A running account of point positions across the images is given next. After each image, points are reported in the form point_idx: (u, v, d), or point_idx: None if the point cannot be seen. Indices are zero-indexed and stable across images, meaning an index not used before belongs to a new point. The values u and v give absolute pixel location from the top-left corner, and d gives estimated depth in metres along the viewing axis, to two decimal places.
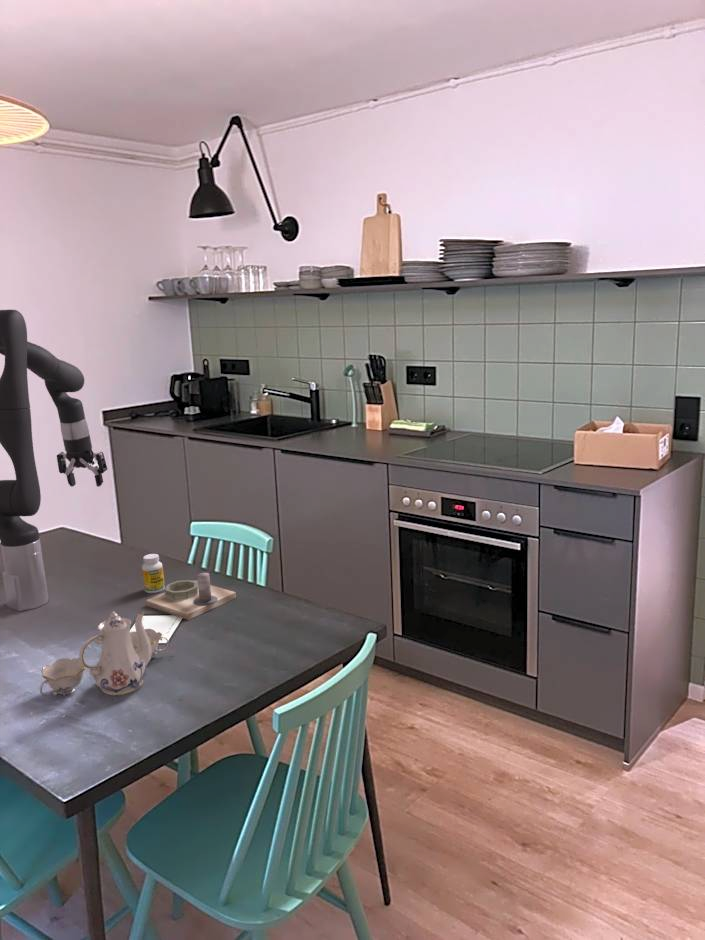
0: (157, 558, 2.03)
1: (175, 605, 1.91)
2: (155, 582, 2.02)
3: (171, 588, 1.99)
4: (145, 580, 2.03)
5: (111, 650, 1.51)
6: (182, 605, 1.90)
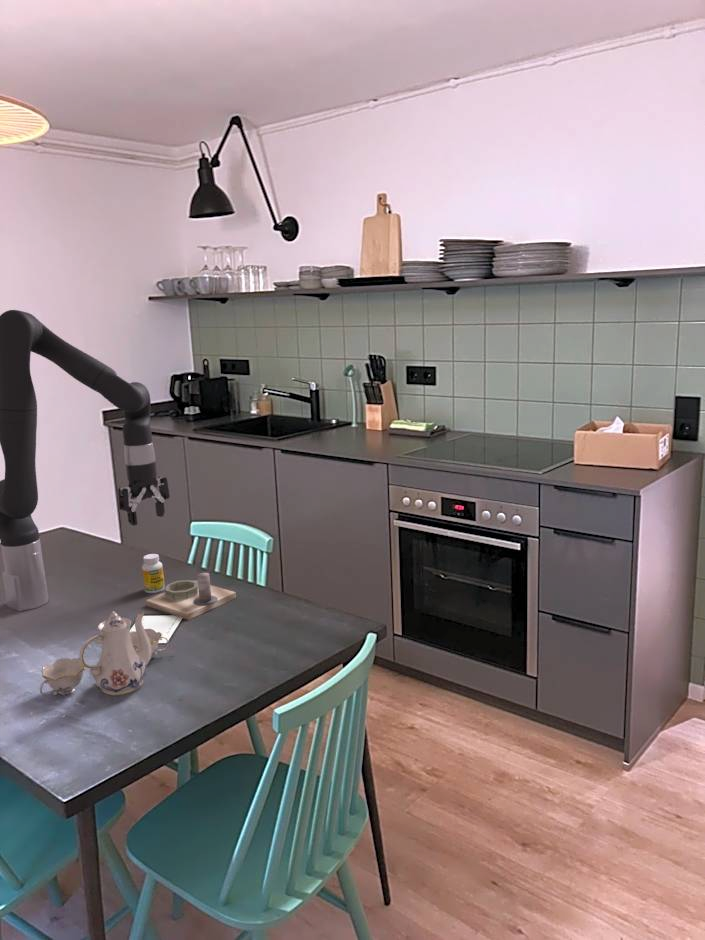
0: (157, 558, 2.03)
1: (175, 605, 1.91)
2: (155, 582, 2.02)
3: (171, 588, 1.99)
4: (145, 580, 2.03)
5: (111, 650, 1.51)
6: (182, 605, 1.90)
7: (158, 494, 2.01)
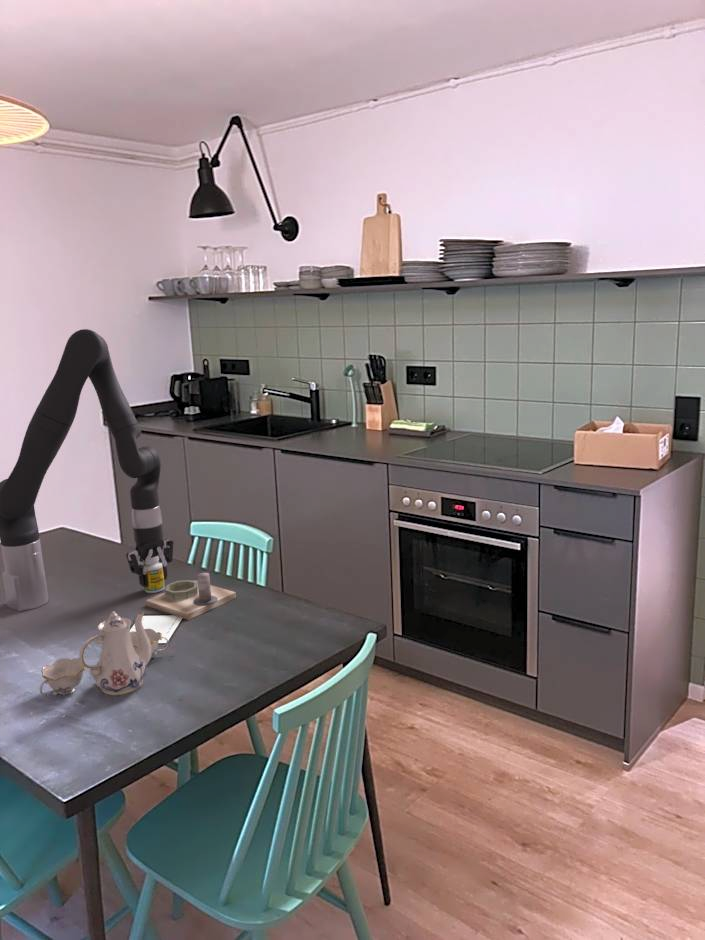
0: (157, 558, 2.03)
1: (175, 605, 1.91)
2: (155, 582, 2.02)
3: (171, 588, 1.99)
4: None
5: (111, 650, 1.51)
6: (182, 605, 1.90)
7: (163, 557, 2.04)
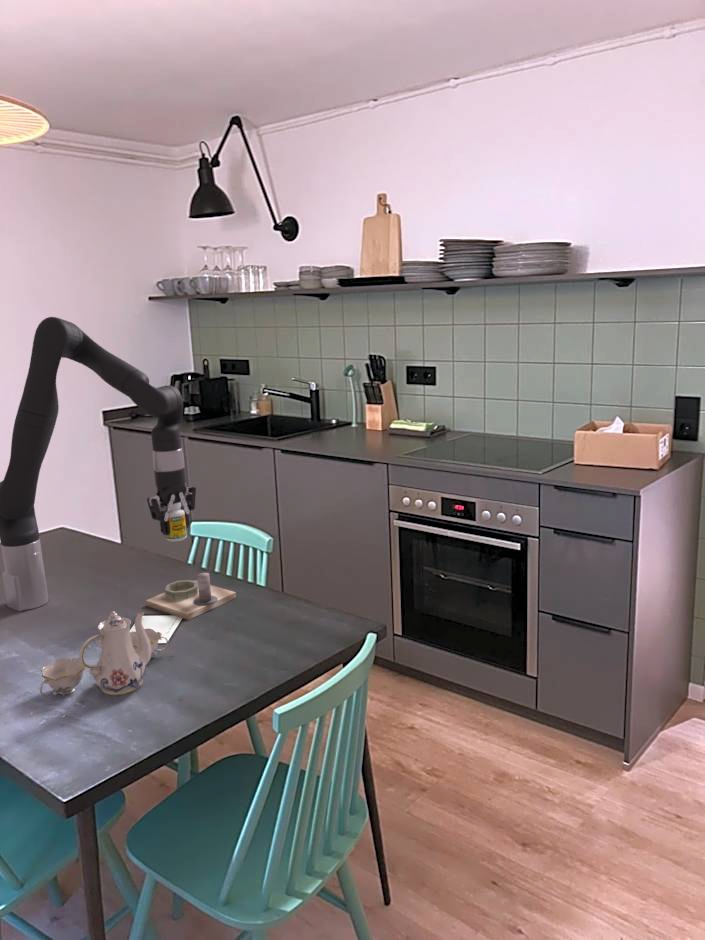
0: (179, 504, 1.92)
1: (175, 605, 1.91)
2: (177, 530, 1.92)
3: (171, 588, 1.99)
4: None
5: (111, 650, 1.51)
6: (182, 605, 1.90)
7: (185, 503, 1.94)
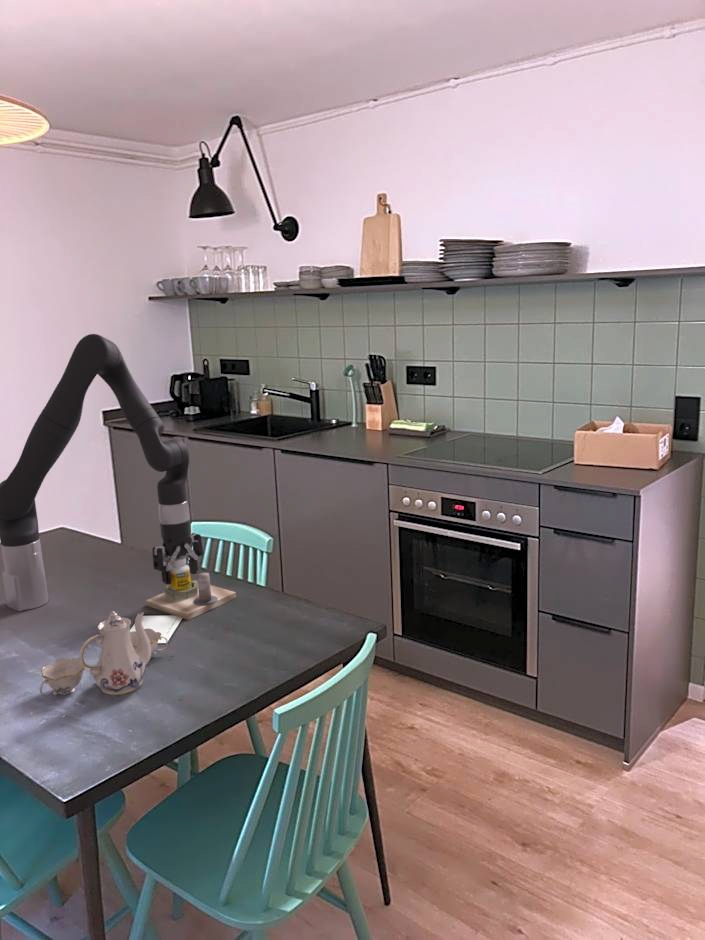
0: (184, 560, 1.95)
1: (175, 605, 1.91)
2: (182, 586, 1.95)
3: None
4: (172, 583, 1.95)
5: (111, 650, 1.51)
6: (182, 605, 1.90)
7: (192, 552, 1.97)
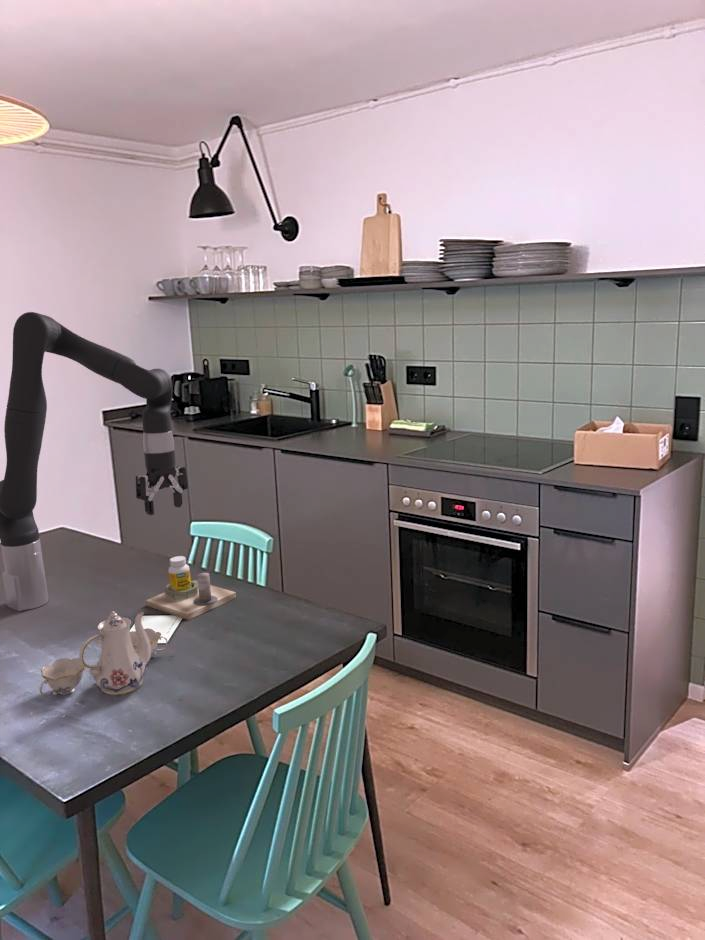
0: (184, 561, 1.95)
1: (175, 605, 1.91)
2: (182, 586, 1.95)
3: None
4: (172, 584, 1.95)
5: (111, 650, 1.51)
6: (182, 605, 1.90)
7: (176, 484, 1.96)
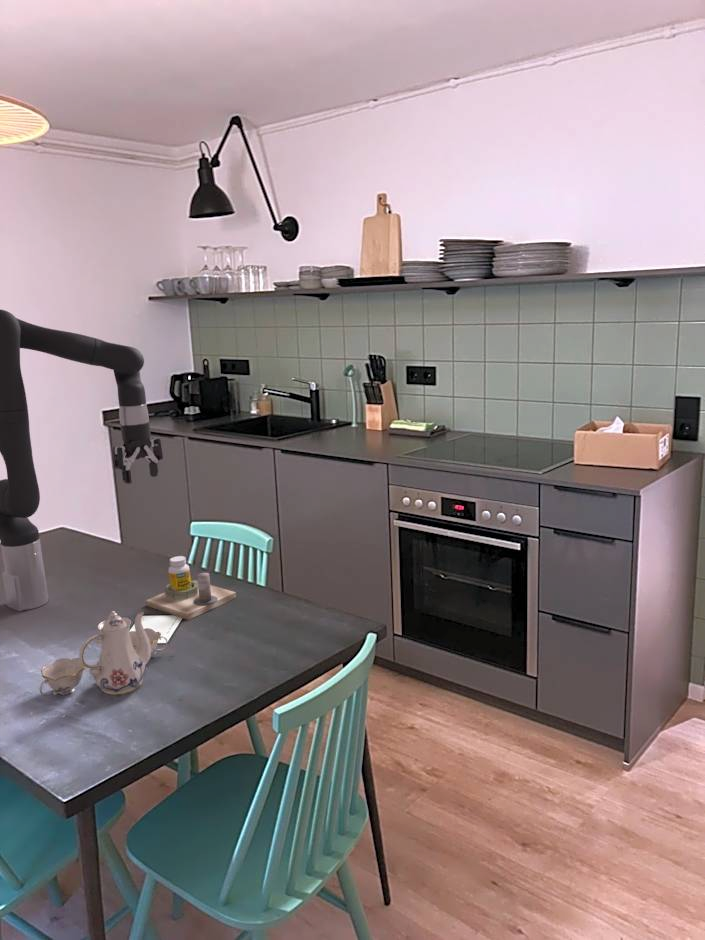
0: (184, 561, 1.95)
1: (175, 605, 1.91)
2: (182, 586, 1.95)
3: None
4: (172, 584, 1.95)
5: (111, 650, 1.51)
6: (182, 605, 1.90)
7: (152, 454, 2.09)
